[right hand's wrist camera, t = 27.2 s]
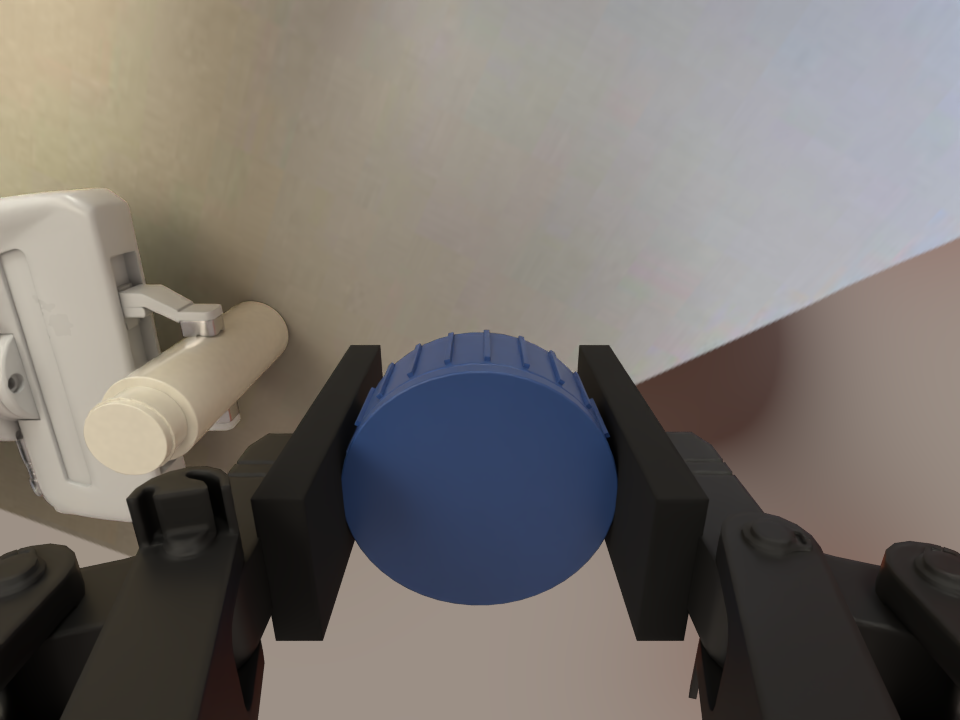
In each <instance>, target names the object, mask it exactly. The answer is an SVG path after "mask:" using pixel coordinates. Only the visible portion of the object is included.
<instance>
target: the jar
mask: <svg viewBox="0 0 960 720" xmlns="http://www.w3.org/2000/svg"><path fill="white" fill-rule="evenodd" d="M223 319H224V326H225V330H224V331H220V333H219V334H218V335H216V336H212V337H202V336H200V335H197V336H195V337H185V338H184V339H182V340H181V341H179V342H178V343H176V344H174V345H173V346H171V347H170V348H168V349H167V350H165V351H164V352H162V353H161V354H159V355H157V356H156V357H154V358H153V359H151V360H150V361H148V362H147V363H145V364H143V365H142V366H140V367H139V368H137V369H136V370H134V371H133V372H131V373H129V374H128V375H126V376H125V377H123V378H122V379H120V380H119V381H117V382H116V383H114V384H113V385H112V386H111V387H110V388H109V389H108V390H107V391H106V393H105V394H104V397H103V399H102V402H100V403H98V404H97V405H96V406H95V407H94V408H92V409H91V410H90V411H89V413H88V415H87V417H86V419H85V424H84V430H83V433H84V439H85V442H86V445H87V447H88V449H89V451H90V452H91V453H92V455H93V456H94V457H95V458H96V459H97V460H98V461H99V462H100V463H102V464H103V465H104V466H106V467H108V468H109V469H111V470H114V471H115V472H117V473H121V474H125V475H142V474H147V473H149V472H152V471H154V470H156V469H157V468H159V467H161V466H163V465H164V464H165V463H167V462H168V461H169V460H174V459H176V458H179V457H181V456H183V455H184V454H186V453H187V452H188V451H189V450H190V449H191V448H192V447H193V446H194V445H195V444H196V443H197V442H198V441H199V440H200V439H201V438H202V437H203V436H204V435H205V434H206V433H207V432H208V430H209V429H210V428H211V427H212V426H213V425H214V424H215V423H216V422H217V421H218V420H219V419H220V418H221V417H222V416H223V415H224V414H225V413H226V412H227V411H228V410H229V409H230V408H231V407H232V405H233V404H234V403H235V402H236V401H237V400H238V399H239V398H240V397H241V396H242V395H243V394H244V393H245V392H246V391H247V390H248V389H249V388H250V387H251V386H252V385H253V384H254V383H255V381H256V380H257V379H258V378H259V377H260V376H261V375H262V374H263V373H264V372H265V371H266V370H267V369H268V368H269V367H270V366H271V365H272V364H273V363H274V362H275V361H276V360H277V359H278V358H279V356H280V355H281V354H282V353H283V352H284V351H285V349H286V347H287V344H288V330H287V326H286V324H285V322H284V320H283V318H282V317H281V316H280V314H279V313H278V312H277V311H275V310H274V309H273V308H271V307H270V306H268V305H266V304H263V303H260V302H255V301H247V302H242V303H239V304H237V305H235V306H233V307H232V308H230V309H229V310H227V311H226V312H224V313H223Z"/></svg>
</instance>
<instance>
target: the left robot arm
mask: <svg viewBox="0 0 960 720" xmlns="http://www.w3.org/2000/svg"><path fill="white" fill-rule="evenodd" d="M154 312H156V313H158V314H160V315H162V316H165V317H167V318H169V319H171V320H173V321H175V322H178V323H180V325H181V330H182V334H183V337H195V336H197V335H200V336H202V337H212V336H216V335H218V334H219V333H220V331H224V330H225V326H224V319H223V311H222V306H221V305H220V304H193V301H191V300H189V299H187V298H186V297H184V296H182V295H180V294H178V293H176V292H175V291H173V290H171V289H169V288H167V287H166V286H164V285H162V284H146V281H145V276H144V272H143V267H142V262H141V258H140V253H139V249H138V244H137V239H136V235H135V230H134V226H133V221H132V216H131V211H130V207H129V205H128V203H127V202H126V201H125V200H124V199H123V198H121V197H120V196H118V195H117V194H115V193H114V192H112V191H111V190H109V189H107V188H84V189H71V190H59V191H47V192H39V193H31V194H23V195H16V196H8V197H2V198H0V441H16V444H17V447H18V450H19V453H20V456H21V458H22V460H23V462H24V464H25V466H26V468H27V470H28V473H29V476H30V477H29V482H30V485H31V488H32V490H33V491H34V493H35V494H36V495H37V496H43V497H44V499H45V500H46V501H47V502H48V503H49V504H50V505H52V506H53V507H54V509H55V510H56V511H57V512H60V513H64V514H74V515H79V516H84V517H91V518H97V519H105V520H113V521H123V522H132V519H131V516H130V512H129V509H128V505H127V502H126V498H127V497H128V496H129V495H130V494H131V493H132V492H133V491H134V490H135V488H137V487H138V486H140V485H142V484H143V483H145V482H146V481H148V480H150V479H151V478H154V477H156V476H159V475H162V474H164V473H167V472H169V471H173V470H178V469H182V468H186V466H185V461H184V456H181V457H179V458H176V459H174V460H169V461H168V462H167V463H165V464H164V465H163V466H161V467H159V468H157V469H156V470H154V471H152V472H149V473H147V474H142V475H125V474H121V473H117V472H115V471H114V470H111V469H109V468H108V467H106V466H104V465H103V464H102V463H100V462H99V461H98V460H97V459H96V458H95V457H94V456H93V455H92V453H91V452H90V451H89V449H88V447H87V445H86V442H85V439H84V433H83V430H84V424H85V419H86V417H87V415H88V413H89V411H90V410H91V409H92V408H94V407H95V406H96V405H97V404H98V403H100V402H102V399H103V397H104V394H105V393H106V391H107V390H108V389H109V388H110V387H111V386H112V385H113V384H114V383H116V382H117V381H119V380H120V379H122V378H123V377H125V376H126V375H128V374H129V373H131V372H133V371H134V370H136V369H137V368H139V367H140V366H142V365H143V364H145V363H147V362H148V361H150V360H151V359H153V358H154V357H156V356H157V355H159V354H161V350H160V346H159V341H158V336H157V332H156V327H155V322H154V318H153V313H154ZM240 420H241V419H240V413H239V407H238V402H237V401H236V402H235V403H234V404H233V405H232V407H231V408H230V409H229V410H228V411H227V412H226V413H225V414H224V415H223V416H222V417H221V418H220V419H219V420H218V421H217V422H216V423H215V424H214V425H213V426H212V427H211V428H210V429H209V430H208V431H226V430H230V429H232V428H234V427H235V426H236V425H237V423H238V422H239V421H240Z"/></svg>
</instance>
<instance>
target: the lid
mask: <svg viewBox="0 0 960 720" xmlns="http://www.w3.org/2000/svg"><path fill="white" fill-rule="evenodd" d="M355 425H356V426H357V428H356V430H355V432H354V435H353V437H352V439H351V441H350V444H349V446H348V448H347V451H346V457H345V459H344V464H343V469H342V474H341V481H342V492H343V501H344V510H345V518H346V522H347V524H348V526H349V529H350V531H351V533H352V536H353V537H354V539H355V541H356V542H357V544H358V545H359V547H360V549H361V550H362V551H363V552H364V553H365V555H366V556H367V557H368V558H369V560H370V561H371V562H372V563H373V564H374V565H375V566H376V567H378V568H379V569H380V570H381V571H382V572H383V573H385V574H386V575H387V576H389V577H390V578H391V579H393V580H394V581H396V582H397V583H399V584H401V585H402V586H404V587H406V588H408V589H410V590H412V591H414V592H417V593H419V594H421V595H424V596H427V597H430V598H433V599H436V600H440V601H445V602H450V603H455V604H464V605H494V604H504V603H509V602H514V601H519V600H523V599H525V598H529V597H532V596H535V595H538V594H540V593H542V592H545V591H547V590H549V589H551V588H553V587H555V586H556V585H558V584H560V583H562V582H563V581H565V580H566V579H568V578H569V577H570V576H572V575H573V574H574V573H576V572H577V571H578V570H579V569H580V568H581V567H582V566H583V565H584V564H586V563H587V562H588V561H589V559H590V558H591V557H592V556H593V555H594V553H595V552H596V551H597V550H598V548H599V547H600V545H601V544H602V542H603V540H604V539H605V537H606V535H607V533H608V531H609V528H610V526H611V524H612V521H613V518H614V514H615V506H616V497H617V487H618V475H617V470H616V465H615V460H614V457H613V455H612V452H611V449H610V447H609V444H608V442H607V439H606V438H609V437H610V435H609V433H608V431H607V428H606V426H605V424H604V422H603V420H602V417H601V415H600V413H599V411H598V408H597V406H596V404H595V402H594V400H593V398H591V399H589V398H588V395H587V393H586V391H585V388H584V386H583V384H582V381H581V379H580V377H579V375H578V373H577V372H574V373H572V372H571V371H570V370H569V369H568V368H567V367H566V366H565V365H564V364H563V363H562V362H561V361H560V360H559V359H557V358H556V355H555V353H554V352H553V351H551V350H550V351H549V352H547V351H546V350H544V349H542V348H540V347H538V346H537V345H535V344H532V343H530V342H527V341H525V340H524V337H522V336H519V337H518V338H516V337H512V336H508V335H504V334H496V333H489V330H484V333H463V334H455V335H454V333H453V332H452V333H448V336H447V337H443V338H439V339H437V340H434V341H432V342H429V343H427V344H424V345H422V346H421V344H418V345H416V347H415V350H413V351H411V352H410V353H408V354H407V355H406V356H404V357H403V358H402V359H400V360H399V361H398V362H397V363H396V364H394V363H391V364H390V365H389V366H388V369H387V371H386V374H385V375H384V377H383V378H382V379H381V381H380V382H379V383H378V385H377V387H376V388H373V387H372V388H371V389H370V391H369V393H368V396H367V398H366V400H365V402H364V404H363V407H362V409H361V411H360V413H359V415H358V418H357V420H356V422H355Z"/></svg>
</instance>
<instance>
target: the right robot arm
mask: <svg viewBox="0 0 960 720" xmlns="http://www.w3.org/2000/svg"><path fill="white" fill-rule="evenodd" d="M577 373H578V375H579V377H580V379H581V381H582V384H583V386H584V388H585V391H586V393H587V395H588V398H589V399H591V398H593V400H594V402H595V404H596V406H597V408H598V411H599V413H600V415H601V417H602V420H603V422H604V424H605V426H606V428H607V431H608V433H609V435H610V437H609V438H606V439H607V442H608V444H609V447H610V449H611V452H612V455H613V457H614V460H615V465H616V470H617V475H618V487H617V497H616V506H615V514H614V518H613V521H612V524H611V526H610V528H609V531H608V533H607V535H606V537H605V542H606V545H607V548H608V551H609V554H610V558H611V561H612V564H613V567H614V570H615V573H616V577H617V580H618V583H619V586H620V589H621V592H622V595H623V599H624V602H625V605H626V608H627V611H628V614H629V617H630V620H631V624H632V627H633V630H634V633H635V636H636V639H637V641H684V636H685V631H686V625H687V620H688V614H689V615H690V617H691V619H692V621H693V624H694V626H695V628H696V630H697V633H698V635H699V637H700V639H699V644H698V649H697V654H696V659H695V664H694V669H693V674H692V680H691V685H690V692H689V698H693V699H696V698H697V693H698V688H699V695H700V704H701V712H702V720H960V554H959V553H958V552H956V551H954V550H951V549H948V548H945V547H944V548H943V547H941V546H938V545H934V544H929V543H921V542H913V541H906V542H899V543H894V544H893V545H892V546H890V547H889V548H888V549H886V551H885V554H884V557H883V560H882V563H881V566H878V565H873V564H869V563H864V562H859V561H854V560H849V559H845V558H840V557H835V556H832V555H828V554H824V553H823V551H822V549H821V547H820V546H819V544H818V543H817V542H816V540H815V539H814V538H813V536H812V535H810V534H809V533H808V532H806V531H805V530H804V529H802V528H801V527H799V526H798V525H797V524H794V523H792V522H790V521H788V520H786V519H783V518H781V517H779V516H775V515H771V514H767V513H764V512H763V511H762V509H761V508H760V507H759V506H758V504H757V503H756V502H755V500H754V499H753V498H752V497H751V495H750V494H749V493H748V491H747V490H746V489H745V488H744V486H743V485H742V484H741V482H740V481H739V480H738V479H737V477H736V476H735V475H732V471H731V470H730V468H729V467H728V466H727V464H726V463H725V462H723V459H722V458H721V457H720V455H719V454H718V453H717V452H716V450H715V449H714V448H713V446H712V445H711V444H709V443H708V442H706V441H705V440H703V439H702V438H700V437H698V436H697V435H695V434H694V433H692V432H665V430H664V429H663V427H662V426H661V424H660V423H659V421H658V420H657V418H656V417H655V415H654V414H653V412H652V411H651V409H650V407H649V406H648V404H647V403H646V401H645V400H644V398H643V397H642V395H641V394H640V392H639V391H638V389H637V387H636V386H635V384H634V383H633V381H632V380H631V378H630V377H629V375H628V374H627V372H626V371H625V369H624V368H623V366H622V364H621V363H620V361H619V360H618V358H617V357H616V355H615V354H614V352H613V351H612V349H611V348H610V346H609V345H579V357H578V372H577ZM382 378H383V376H382V362H381V348H380V345H351V346H350V347H349V349H348V350H347V352H346V353H345V355H344V356H343V358H342V359H341V361H340V362H339V364H338V365H337V367H336V369H335V370H334V372H333V373H332V375H331V376H330V378H329V379H328V381H327V382H326V384H325V385H324V387H323V388H322V390H321V392H320V393H319V395H318V396H317V398H316V399H315V401H314V402H313V404H312V405H311V407H310V408H309V410H308V412H307V413H306V415H305V416H304V418H303V419H302V421H301V422H300V424H299V425H298V427H297V428H296V430H295V431H294V433H293V434H267V435H266V436H264V437H263V438H261V439H260V440H258V441H256V442H255V443H253V444H252V445H250V446H249V447H248V448H247V449H246V451H245V452H244V453H243V455H242V456H241V457H240V459H239V460H238V461H237V464H235V465H234V466H233V468H232V469H231V470H230V471H229V473H228V475H227V474H226V473H224V472H223V471H222V470H221V469H216V468H212V467H207V466H205V467H187V468H182V469H178V470H173V471H169V472H167V473H164V474H162V475H159V476H156V477H154V478H151V479H150V480H148V481H146V482H145V483H143V484H142V485H140V486H138V487H137V488H135V490H134V491H133V492H132V493H131V494H130V495H129V496H128V497H127V498H126V502H127V505H128V509H129V512H130V516H131V519H132V523H133V527H134V530H135V534H136V537H137V541H138V544H139V550H138V552H137V554H136V556H133V557H130V558H126V559H122V560H117V561H113V562H108V563H103V564H98V565H93V566H89V567H84V568H79V565H78V562H77V559H76V556H75V553H74V552H73V551H72V550H71V549H69V548H68V547H67V546H64V545H57V544H43V545H36V546H29V547H25V548H21V549H19V550H14V551H11V552H8V553H6V554H4V555H2V556H1V557H0V720H258V714H259V705H260V696H261V688H262V680H263V671H264V655H263V649H262V644H261V637H262V635H263V633H264V630H265V628H266V626H267V624H268V621H269V619H270V617H271V616H272V622H273V627H274V633H275V638H276V641H323V638H324V635H325V632H326V629H327V626H328V623H329V620H330V616H331V613H332V610H333V607H334V604H335V601H336V597H337V594H338V591H339V588H340V585H341V582H342V578H343V575H344V572H345V569H346V566H347V563H348V560H349V557H350V553H351V550H352V547H353V544H354V541H355V539H354V537H353V536H352V533H351V531H350V529H349V526H348V524H347V522H346V518H345V510H344V501H343V492H342V481H341V474H342V469H343V464H344V459H345V457H346V451H347V448H348V446H349V444H350V441H351V439H352V437H353V435H354V432H355V430H356V428H357V426H356V425H355V422H356V420H357V418H358V415H359V413H360V411H361V409H362V407H363V404H364V402H365V400H366V398H367V396H368V393H369V391H370V389H371V388H372V387H373V388H376V387H377V385H378V383H379V382H380V381H381V379H382Z"/></svg>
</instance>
